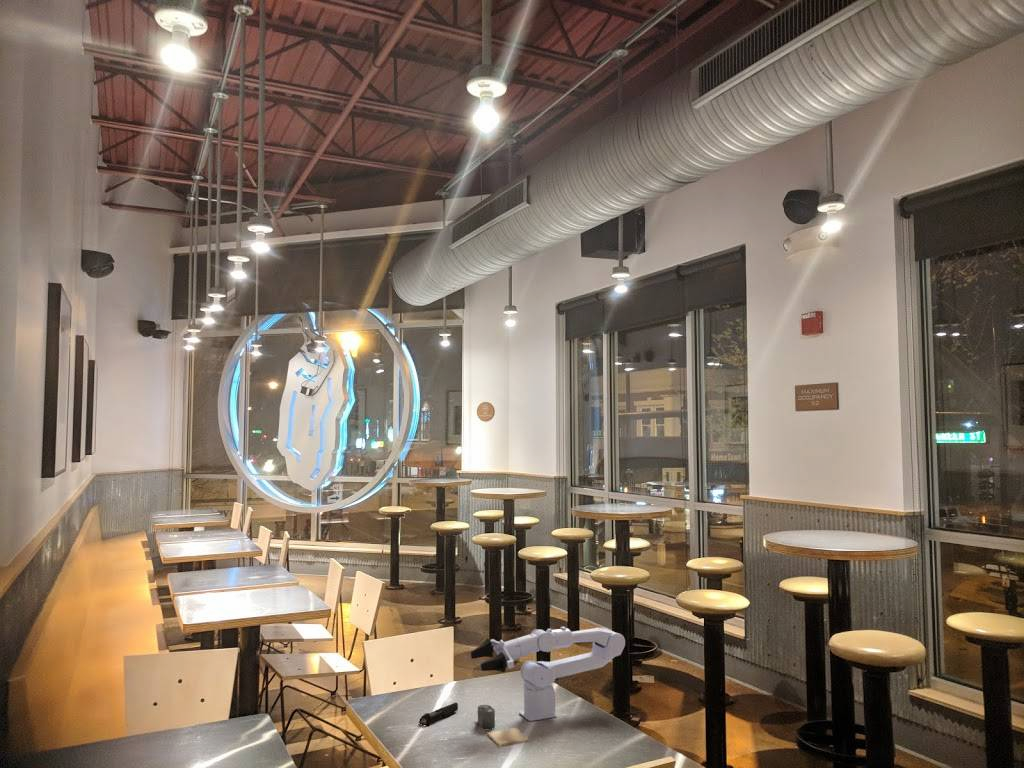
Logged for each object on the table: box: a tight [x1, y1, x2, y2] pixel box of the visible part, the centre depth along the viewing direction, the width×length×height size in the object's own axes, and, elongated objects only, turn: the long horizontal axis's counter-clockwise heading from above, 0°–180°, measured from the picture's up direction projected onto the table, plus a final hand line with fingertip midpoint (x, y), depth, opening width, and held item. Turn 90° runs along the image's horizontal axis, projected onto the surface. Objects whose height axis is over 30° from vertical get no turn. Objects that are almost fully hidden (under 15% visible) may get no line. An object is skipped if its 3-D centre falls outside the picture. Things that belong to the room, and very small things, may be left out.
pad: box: [487, 727, 529, 747], centre depth 216 cm, size 9×9×1 cm
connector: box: [476, 704, 496, 730], centre depth 227 cm, size 9×4×5 cm, turn 24°
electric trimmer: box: [418, 702, 459, 727], centre depth 232 cm, size 4×16×3 cm, turn 142°
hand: (476, 661), depth 227 cm, fingers open, 7 cm apart
